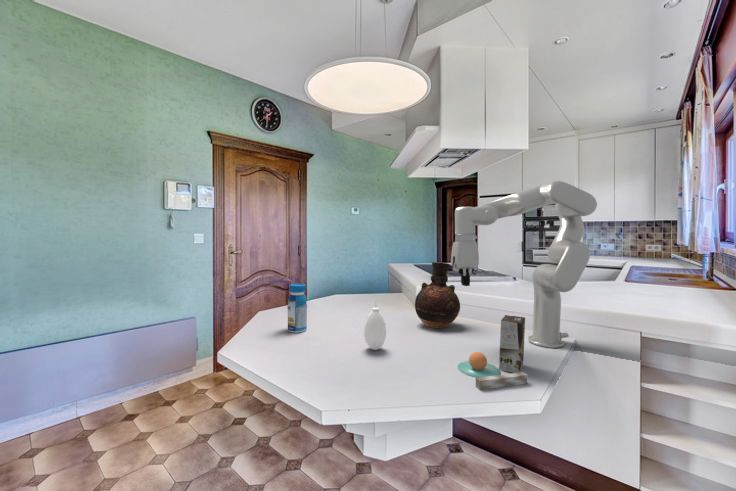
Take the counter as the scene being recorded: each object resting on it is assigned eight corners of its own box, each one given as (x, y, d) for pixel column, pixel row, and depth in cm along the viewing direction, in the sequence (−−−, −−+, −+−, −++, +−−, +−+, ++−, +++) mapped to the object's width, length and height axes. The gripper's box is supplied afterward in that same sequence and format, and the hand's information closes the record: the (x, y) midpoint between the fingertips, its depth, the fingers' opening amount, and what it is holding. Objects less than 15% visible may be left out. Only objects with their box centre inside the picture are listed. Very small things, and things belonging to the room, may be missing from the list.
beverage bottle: (304, 333, 140) (305, 286, 139) (284, 333, 140) (285, 285, 139) (308, 327, 148) (309, 283, 147) (289, 327, 148) (290, 282, 147)
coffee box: (520, 374, 103) (522, 323, 102) (498, 369, 106) (500, 319, 105) (524, 364, 110) (526, 317, 110) (503, 360, 114) (505, 314, 113)
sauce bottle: (389, 349, 122) (390, 301, 122) (375, 354, 117) (376, 304, 116) (374, 344, 128) (374, 297, 127) (359, 349, 122) (360, 300, 121)
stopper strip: (522, 380, 98) (522, 372, 98) (527, 383, 97) (527, 375, 96) (475, 386, 94) (475, 377, 94) (479, 389, 92) (480, 381, 92)
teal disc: (483, 359, 114) (483, 359, 114) (509, 375, 101) (509, 375, 101) (450, 363, 110) (450, 362, 110) (472, 380, 98) (472, 379, 98)
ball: (478, 356, 110) (483, 347, 107) (487, 371, 106) (492, 362, 103) (463, 360, 109) (468, 350, 105) (472, 375, 105) (477, 365, 101)
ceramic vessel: (418, 332, 144) (420, 263, 143) (410, 321, 162) (412, 260, 160) (465, 332, 146) (467, 264, 144) (453, 321, 163) (454, 260, 162)
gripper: (475, 238, 135) (476, 282, 135) (443, 239, 130) (443, 285, 131) (487, 238, 127) (487, 285, 128) (453, 239, 123) (454, 288, 124)
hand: (465, 285), depth 130 cm, fingers closed
